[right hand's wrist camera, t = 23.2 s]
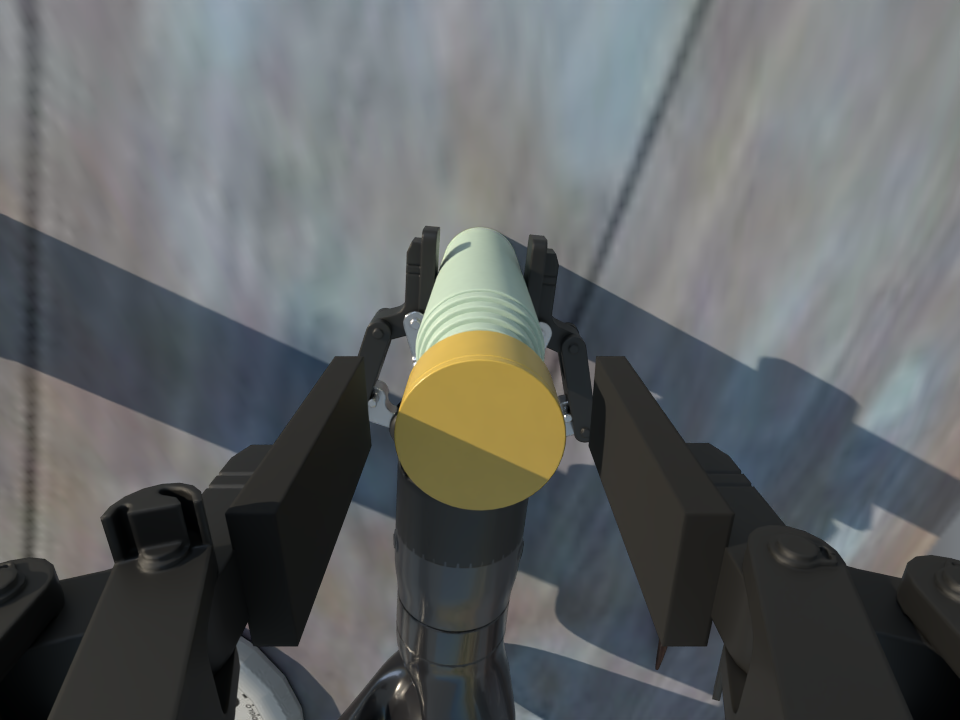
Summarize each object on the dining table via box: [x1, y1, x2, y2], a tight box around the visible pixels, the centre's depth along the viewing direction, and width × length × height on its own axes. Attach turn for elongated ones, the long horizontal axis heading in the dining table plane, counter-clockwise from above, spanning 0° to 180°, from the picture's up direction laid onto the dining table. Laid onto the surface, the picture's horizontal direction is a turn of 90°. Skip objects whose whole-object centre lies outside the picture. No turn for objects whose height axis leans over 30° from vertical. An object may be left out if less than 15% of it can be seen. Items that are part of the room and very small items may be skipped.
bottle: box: [416, 227, 545, 363], centre depth 23 cm, size 4×4×20 cm
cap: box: [394, 330, 566, 510], centre depth 14 cm, size 4×4×2 cm
